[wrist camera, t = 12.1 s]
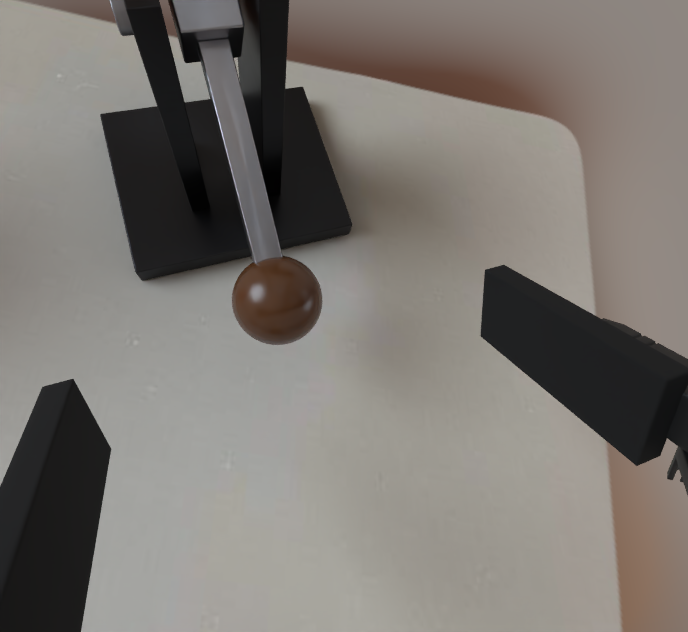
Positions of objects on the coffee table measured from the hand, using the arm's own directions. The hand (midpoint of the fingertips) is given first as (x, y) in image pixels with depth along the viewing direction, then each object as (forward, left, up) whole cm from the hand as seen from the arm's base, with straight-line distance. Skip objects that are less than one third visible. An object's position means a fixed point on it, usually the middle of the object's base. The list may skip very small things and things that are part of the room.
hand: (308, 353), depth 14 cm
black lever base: (0, -13, -10) cm, 16 cm away
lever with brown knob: (0, -9, -3) cm, 9 cm away
